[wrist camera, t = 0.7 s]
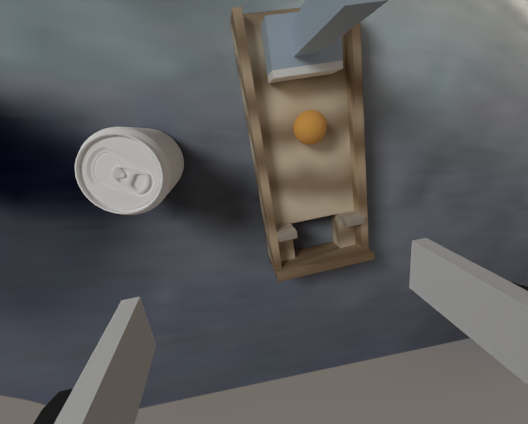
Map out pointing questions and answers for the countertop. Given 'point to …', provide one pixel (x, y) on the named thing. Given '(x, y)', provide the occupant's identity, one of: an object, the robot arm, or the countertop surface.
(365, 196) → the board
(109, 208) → the beverage can
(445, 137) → the countertop surface
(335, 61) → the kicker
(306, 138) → the ball
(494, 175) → the countertop surface
